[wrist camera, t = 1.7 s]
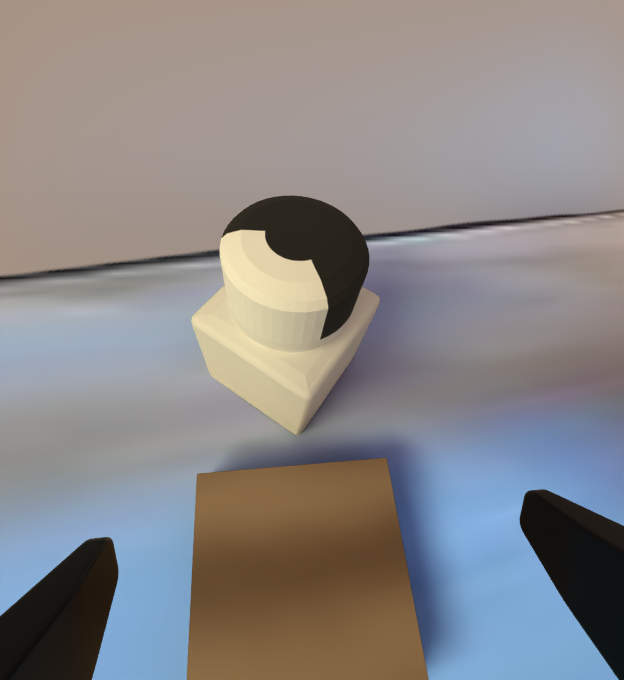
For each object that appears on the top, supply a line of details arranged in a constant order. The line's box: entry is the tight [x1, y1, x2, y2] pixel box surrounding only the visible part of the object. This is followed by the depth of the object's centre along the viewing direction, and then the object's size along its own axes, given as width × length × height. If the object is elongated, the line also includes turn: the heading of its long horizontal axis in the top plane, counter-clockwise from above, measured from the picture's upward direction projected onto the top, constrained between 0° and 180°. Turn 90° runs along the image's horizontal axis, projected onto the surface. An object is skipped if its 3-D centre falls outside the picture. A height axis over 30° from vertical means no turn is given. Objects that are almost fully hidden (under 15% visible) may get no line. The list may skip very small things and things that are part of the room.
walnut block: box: [187, 458, 428, 680], centre depth 18 cm, size 10×10×3 cm
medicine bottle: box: [191, 196, 380, 435], centre depth 19 cm, size 7×7×12 cm
